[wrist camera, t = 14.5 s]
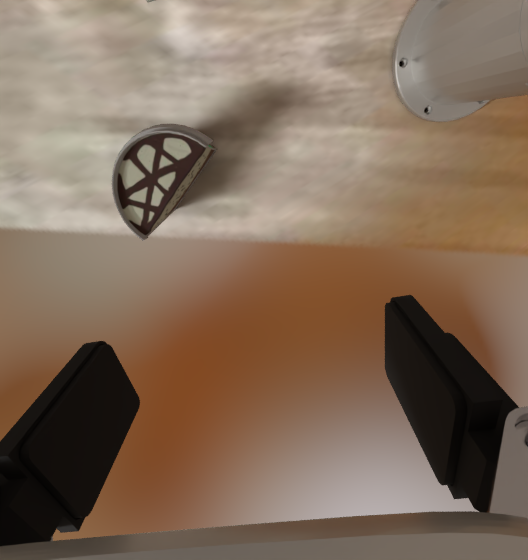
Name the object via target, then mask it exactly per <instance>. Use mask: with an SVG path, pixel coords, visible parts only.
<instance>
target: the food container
mask: <svg viewBox="0 0 528 560" xmlns="http://www.w3.org/2000/svg"><path fill="white" fill-rule="evenodd" d="M212 142H213V140H212V139H211V138H209V137H208V136H206V135H205V134H203V133H201V132H199V131H197V130H196V129H193V128H190V127H187V126H184V125H178V124H160V125H155V126H152V127H149V128H147V129H144V130H142V131H141V132H139V133H138V134H136V135H135V136H134V137H133V138H131V139H130V140H129V141H128V142H127V143H126V144H125V145H124V147H123V148H122V150H121V151H120V153H119V154H118V157H117V159H116V161H115V164H114V169H113V175H112V190H113V197H114V201H115V204H116V207H117V209H118V211H119V213H120V215H121V217H122V219H123V220H124V222H125V223H126V224H127V226H128V227H129V228H130V229H131V230H132V231H133V232H134V233H135V235H137V236H138V237H139V238H140V239H142V240H145V239H147V238H148V236H149V235H150V234H151V233H152V232H153V231H154V230H155V229H156V228H157V227H158V226H159V225H160V224H161V223H162V222H163V221H164V220H165V219H166V218H167V217H168V216H169V215H170V214H171V213H172V212H173V211H175V210H176V208H177V207H178V205H179V204H180V202H181V201H182V199H183V198H184V197H185V195H186V194H187V192H188V191H189V189H190V188H191V186H192V185H193V184H194V182H195V181H196V179H197V178H198V176H199V175H200V173H201V172H202V170H203V169H204V168H205V166H206V165H207V163H208V162H209V160H210V159H211V157H212V156H213V155H214V153H215V152H216V150H217V149H216V148H215V147H214V146H212V145H211V143H212Z"/></svg>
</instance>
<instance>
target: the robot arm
mask: <svg viewBox="0 0 528 560" xmlns="http://www.w3.org/2000/svg"><path fill="white" fill-rule="evenodd" d="M399 62H402V66H401V67H400V66H399ZM392 72H393V81H394V85H395V88H396V92H397V94H398V96H399V98H400V100H401V102H402V104H403V105H404V106H405V107H406V108H407V109H408V110H409V111H410V112H411V113H413V114H414V115H416V116H417V117H419V118H422V119H424V120H427V121H434V122H446V121H452V120H457V119H460V118H463V117H465V116H468V115H470V114H472V113H473V112H475V111H477V110H478V109H480V108H482V107H483V106H484V105H485V104H487V103H488V102H489V101H490V100H492V99H499V98H507V97H514V96H522V95H528V0H417V1H416V3H415V4H414V6H413V7H412V8H411V10H410V11H409V13H408V14H407V16H406V18H405V20H404V22H403V24H402V26H401V28H400V31H399V34H398V37H397V39H396V43H395V48H394V53H393V64H392ZM425 108H426V112H425V113H424V109H425ZM385 370H386V374H387V377H388V379H389V381H390V383H391V385H392V387H393V389H394V391H395V393H396V395H397V398H398V400H399V402H400V404H401V406H402V408H403V410H404V412H405V414H406V416H407V418H408V420H409V422H410V424H411V426H412V428H413V430H414V433H415V435H416V437H417V438H418V441H419V443H420V445H421V447H422V449H423V451H424V453H425V455H426V457H427V459H428V461H429V464H430V465H431V468H432V470H433V472H434V474H435V476H436V478H437V479H438V481H439V483H440V484H441V485H447V486H448V488H449V490H450V491H451V493H452V495H453V498H454V499H461V498H469V500H470V502H471V503H472V505H473V507H474V508H475V509H476V510H478V511H479V512H421V513H403V514H387V515H386V514H385V515H368V516H352V517H340V518H326V519H313V520H300V521H287V522H275V523H261V524H249V525H237V526H223V527H212V528H200V529H187V530H175V531H163V532H151V533H139V534H127V535H116V536H106V537H105V536H104V537H93V538H82V539H70V540H59V541H53V538H52V536H53V534H54V532H55V530H56V528H57V529H58V530H59V531H60V532H73V531H79V529H80V527H81V525H82V523H83V521H84V519H85V517H86V516H88V515H89V514H90V512H91V511H92V509H93V507H94V504H95V502H96V500H97V498H98V496H99V494H100V491H101V489H102V487H103V485H104V483H105V480H106V478H107V476H108V474H109V472H110V470H111V467H112V465H113V463H114V461H115V459H116V457H117V455H118V452H119V450H120V448H121V445H122V444H123V441H124V439H125V437H126V435H127V433H128V431H129V429H130V426H131V424H132V422H133V420H134V418H135V416H136V413H137V411H138V409H139V405H140V400H139V397H138V395H137V393H136V391H135V389H134V387H133V385H132V384H131V382H130V380H129V378H128V376H127V375H126V372H125V371H124V369H123V367H122V365H121V363H120V361H119V360H118V358H117V356H116V354H115V352H114V350H113V348H112V347H111V346H110V345H108V344H107V343H106V342H104V341H98V342H91V343H86V344H84V345H83V346H82V347H81V348H80V349H79V350H78V351H77V353H76V354H75V355H74V356H73V357H72V359H71V360H70V361H69V362H68V363H67V364H66V365H65V367H64V368H63V369H62V370H61V371H60V372H59V374H58V375H57V376H56V377H55V378H54V379H53V381H52V382H51V383H50V384H49V385H48V387H47V388H46V389H45V390H44V391H43V392H42V394H41V395H40V396H39V397H38V398H37V399H36V400H35V402H34V403H33V404H32V405H31V406H30V407H29V409H28V410H27V411H26V412H25V413H24V414H23V416H22V417H21V418H20V419H19V420H18V422H17V423H16V424H15V425H14V426H13V427H12V428H11V430H10V431H9V432H8V433H7V434H6V436H5V437H4V438H3V439H2V440H1V441H0V560H528V407H527V406H526V407H521V408H519V407H518V406H517V405H516V403H515V402H514V401H513V400H512V399H511V398H510V397H509V396H508V395H507V394H506V392H505V391H504V390H503V389H502V388H501V387H500V386H499V385H498V384H497V383H496V381H495V380H494V379H493V378H492V377H491V376H490V375H489V374H488V373H487V371H486V370H485V369H484V368H483V367H482V366H481V365H480V364H479V363H478V362H477V360H476V359H475V358H474V357H473V356H472V355H471V354H470V353H469V352H468V351H467V349H466V348H465V347H464V346H463V345H462V344H461V343H460V342H459V341H458V339H457V338H455V336H453V335H452V334H450V333H444V331H443V330H442V329H441V328H440V327H439V326H438V325H437V323H436V322H435V321H434V320H433V319H432V318H431V317H430V316H429V314H428V313H427V312H426V311H425V310H424V309H423V307H422V306H421V305H420V304H419V303H418V302H417V301H416V299H415V298H414V297H413V296H411V295H406V296H400V297H393V298H391V301H390V303H386V305H385Z"/></svg>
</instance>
